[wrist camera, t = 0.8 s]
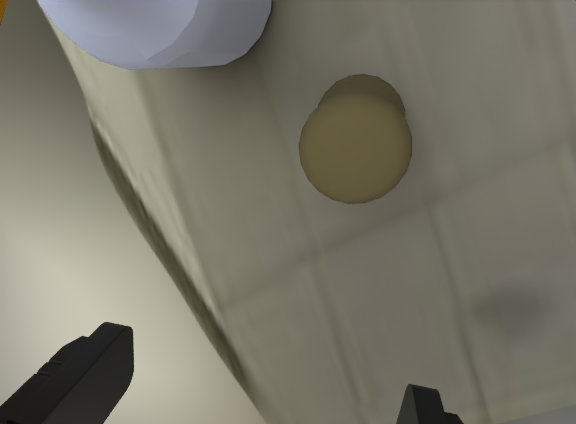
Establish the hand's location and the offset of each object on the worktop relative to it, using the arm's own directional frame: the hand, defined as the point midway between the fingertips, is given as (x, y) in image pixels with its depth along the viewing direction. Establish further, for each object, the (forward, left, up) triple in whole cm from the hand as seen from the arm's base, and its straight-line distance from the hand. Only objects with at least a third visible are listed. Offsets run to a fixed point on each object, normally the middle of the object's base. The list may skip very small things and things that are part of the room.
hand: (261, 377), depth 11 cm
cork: (-3, -4, -20) cm, 20 cm away
